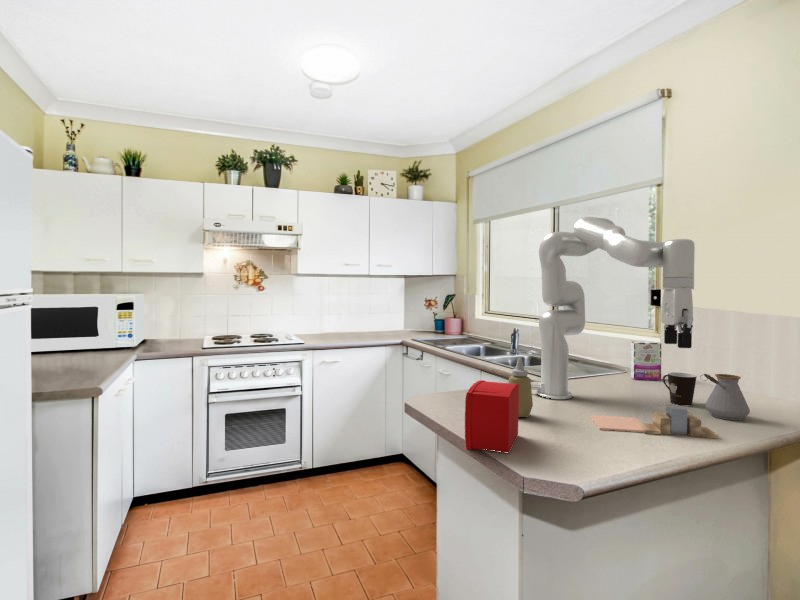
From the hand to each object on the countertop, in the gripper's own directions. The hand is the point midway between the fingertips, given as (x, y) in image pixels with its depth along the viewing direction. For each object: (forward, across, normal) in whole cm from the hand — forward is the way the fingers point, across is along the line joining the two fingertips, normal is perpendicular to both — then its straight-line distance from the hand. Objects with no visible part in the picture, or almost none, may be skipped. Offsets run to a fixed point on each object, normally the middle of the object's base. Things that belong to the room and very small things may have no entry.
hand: (677, 345), depth 128 cm
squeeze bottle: (+24, -7, -42) cm, 49 cm away
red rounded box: (+24, +19, -50) cm, 59 cm away
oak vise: (+24, 0, 0) cm, 24 cm away
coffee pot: (+24, -16, +18) cm, 34 cm away
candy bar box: (+24, -77, +15) cm, 82 cm away
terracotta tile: (+24, -4, -14) cm, 28 cm away
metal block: (+24, 0, 0) cm, 24 cm away
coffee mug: (+24, -36, +14) cm, 46 cm away
